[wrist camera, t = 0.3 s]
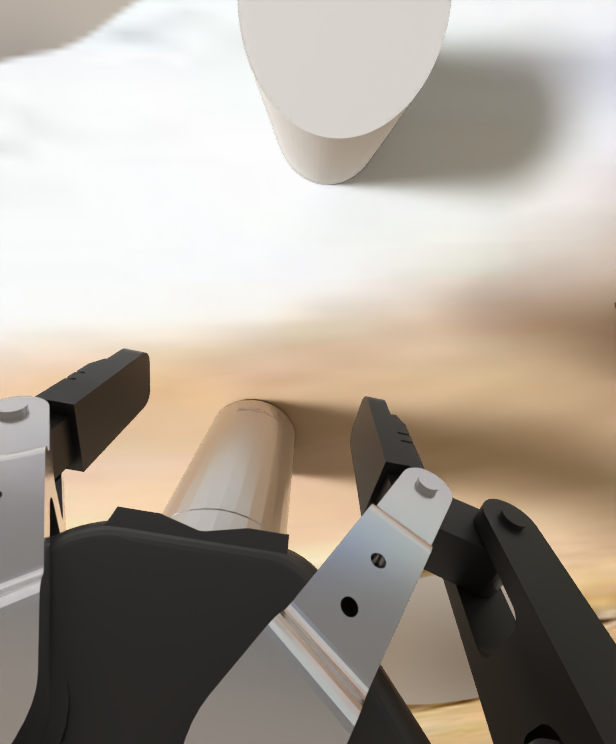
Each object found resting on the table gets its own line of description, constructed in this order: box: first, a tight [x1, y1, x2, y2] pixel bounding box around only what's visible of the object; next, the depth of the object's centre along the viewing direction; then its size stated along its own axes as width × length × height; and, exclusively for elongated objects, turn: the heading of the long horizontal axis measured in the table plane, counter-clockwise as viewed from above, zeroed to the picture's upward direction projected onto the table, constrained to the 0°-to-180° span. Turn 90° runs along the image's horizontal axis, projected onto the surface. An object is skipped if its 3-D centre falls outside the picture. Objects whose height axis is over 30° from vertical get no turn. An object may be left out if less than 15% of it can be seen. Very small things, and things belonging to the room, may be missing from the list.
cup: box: [238, 0, 451, 185], centre depth 17 cm, size 8×8×12 cm
